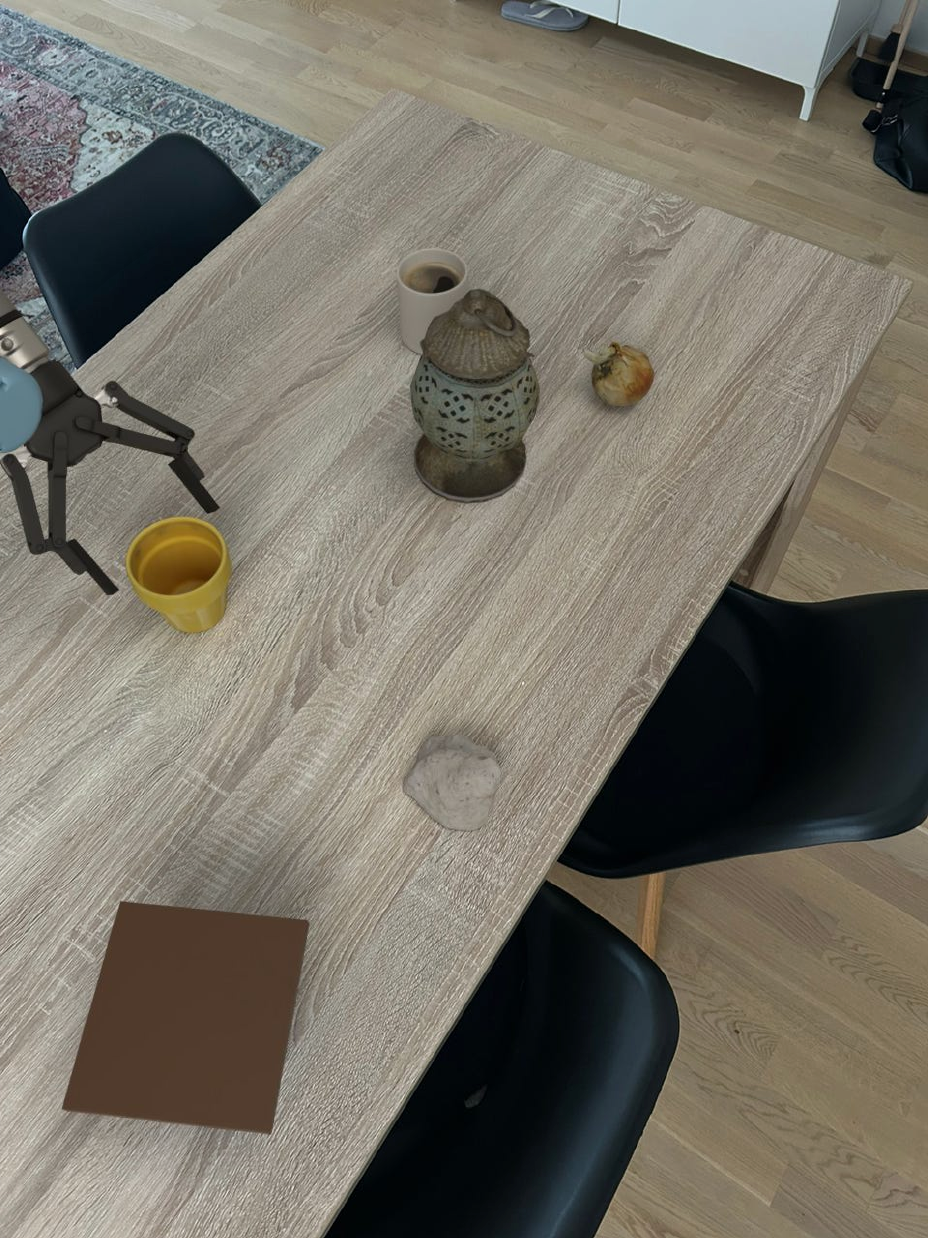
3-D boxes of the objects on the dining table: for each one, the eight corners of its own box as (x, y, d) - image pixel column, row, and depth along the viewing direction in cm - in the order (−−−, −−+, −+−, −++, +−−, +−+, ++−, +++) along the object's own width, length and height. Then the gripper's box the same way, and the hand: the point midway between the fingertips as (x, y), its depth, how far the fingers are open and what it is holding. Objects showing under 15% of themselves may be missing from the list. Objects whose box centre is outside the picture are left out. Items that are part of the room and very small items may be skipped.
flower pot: (257, 578, 116) (240, 524, 107) (225, 656, 110) (205, 606, 102) (170, 561, 117) (147, 507, 109) (134, 638, 112) (107, 587, 103)
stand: (98, 1124, 86) (61, 1109, 79) (149, 931, 95) (119, 901, 87) (287, 1146, 85) (268, 1133, 78) (321, 949, 94) (307, 919, 86)
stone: (393, 731, 103) (492, 714, 101) (407, 751, 107) (502, 734, 105) (396, 825, 97) (500, 808, 96) (411, 843, 101) (511, 827, 99)
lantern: (439, 403, 130) (432, 232, 108) (548, 433, 127) (563, 264, 106) (396, 485, 123) (379, 320, 101) (509, 518, 120) (517, 356, 99)
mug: (445, 366, 133) (443, 304, 124) (383, 339, 136) (377, 277, 127) (489, 316, 138) (489, 253, 129) (428, 291, 141) (425, 228, 132)
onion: (613, 427, 127) (620, 380, 120) (574, 387, 131) (580, 339, 124) (662, 402, 129) (672, 354, 122) (623, 364, 133) (630, 315, 126)
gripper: (-86, 448, 92) (75, 629, 100) (132, 299, 102) (265, 475, 109) (-93, 458, 98) (60, 628, 106) (114, 317, 108) (240, 482, 116)
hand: (164, 550), depth 108 cm, fingers open, 13 cm apart
